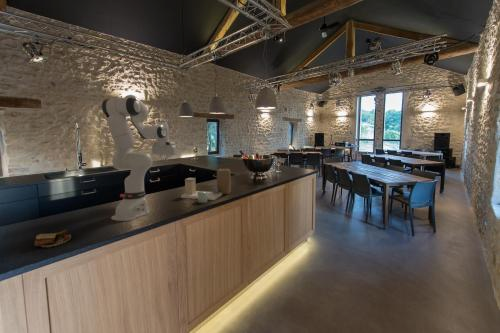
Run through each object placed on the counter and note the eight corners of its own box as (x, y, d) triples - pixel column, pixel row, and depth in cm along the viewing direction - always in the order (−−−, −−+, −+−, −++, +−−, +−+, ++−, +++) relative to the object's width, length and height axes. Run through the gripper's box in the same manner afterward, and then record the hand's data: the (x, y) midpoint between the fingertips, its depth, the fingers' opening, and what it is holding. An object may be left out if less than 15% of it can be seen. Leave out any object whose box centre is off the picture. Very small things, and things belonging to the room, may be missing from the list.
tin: (218, 193, 198) (218, 187, 197) (213, 193, 198) (213, 187, 197) (218, 192, 202) (218, 186, 201) (214, 192, 202) (213, 186, 201)
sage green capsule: (204, 203, 180) (204, 193, 179) (196, 202, 181) (195, 193, 180) (209, 200, 186) (208, 191, 185) (200, 199, 188) (200, 190, 187)
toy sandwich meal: (67, 245, 115) (66, 235, 114) (30, 251, 109) (29, 241, 108) (74, 235, 126) (73, 226, 125) (40, 240, 120) (39, 230, 120)
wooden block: (231, 191, 213) (230, 168, 210) (228, 194, 203) (228, 170, 201) (219, 191, 214) (219, 168, 211) (217, 194, 204) (216, 170, 202)
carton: (192, 194, 197) (191, 179, 195) (185, 193, 198) (184, 179, 197) (196, 192, 203) (195, 178, 201) (189, 192, 204) (188, 177, 203)
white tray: (214, 200, 187) (214, 197, 186) (181, 197, 194) (181, 195, 194) (222, 195, 202) (222, 192, 202) (191, 192, 209) (191, 190, 209)
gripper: (149, 142, 193) (150, 160, 195) (172, 143, 187) (173, 161, 189) (154, 142, 199) (155, 159, 201) (177, 142, 193) (177, 160, 195)
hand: (164, 160), depth 195 cm, fingers closed
